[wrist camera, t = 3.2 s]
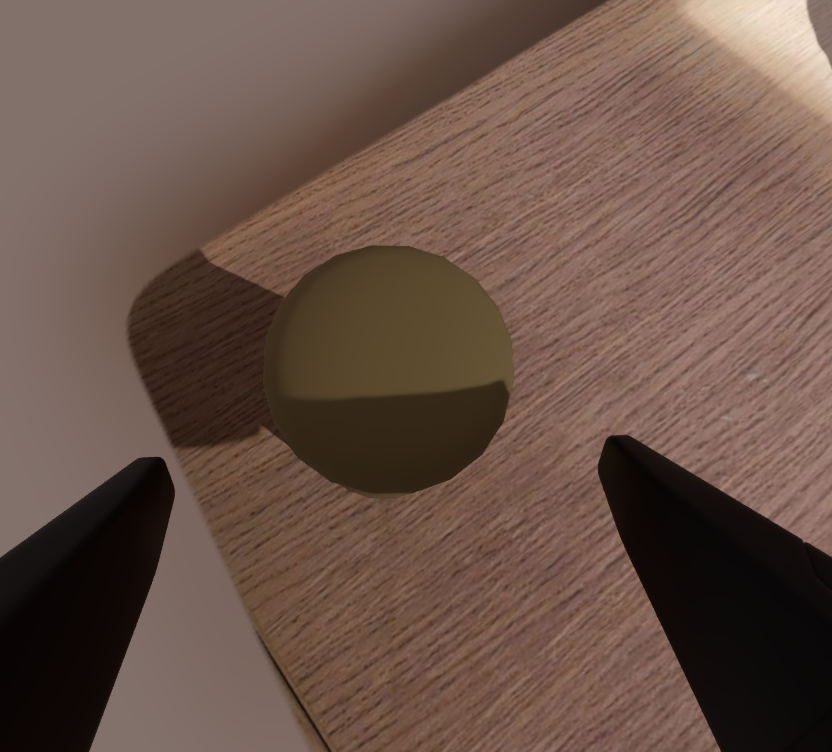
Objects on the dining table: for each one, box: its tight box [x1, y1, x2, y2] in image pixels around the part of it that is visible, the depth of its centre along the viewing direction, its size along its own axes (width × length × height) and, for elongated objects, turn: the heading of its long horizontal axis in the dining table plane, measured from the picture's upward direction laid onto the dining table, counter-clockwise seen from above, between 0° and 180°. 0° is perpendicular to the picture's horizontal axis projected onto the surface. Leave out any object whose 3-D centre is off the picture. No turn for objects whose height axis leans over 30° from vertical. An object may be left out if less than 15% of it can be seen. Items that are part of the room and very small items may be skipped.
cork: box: [263, 246, 514, 498], centre depth 13 cm, size 6×6×11 cm
